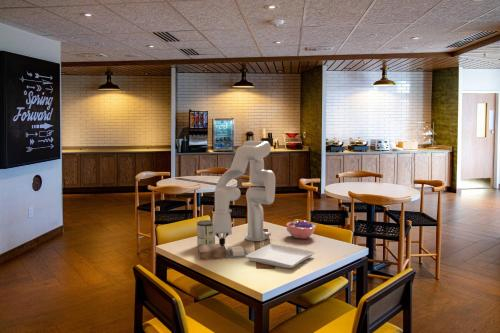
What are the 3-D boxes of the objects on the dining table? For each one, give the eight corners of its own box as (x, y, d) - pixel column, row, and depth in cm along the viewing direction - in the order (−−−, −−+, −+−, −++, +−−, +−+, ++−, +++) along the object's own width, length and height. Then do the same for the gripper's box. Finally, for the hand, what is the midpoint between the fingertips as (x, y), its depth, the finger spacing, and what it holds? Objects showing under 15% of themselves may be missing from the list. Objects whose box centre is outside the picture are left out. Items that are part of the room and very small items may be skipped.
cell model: (301, 232, 278) (301, 215, 276) (321, 239, 261) (322, 221, 259) (280, 235, 269) (280, 218, 268) (299, 243, 252) (299, 224, 251)
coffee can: (202, 243, 252) (202, 219, 251) (218, 245, 248) (218, 221, 247) (193, 247, 243) (193, 223, 242) (209, 249, 239) (209, 225, 237)
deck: (223, 250, 237) (223, 243, 237) (226, 258, 224) (226, 250, 223) (198, 251, 235) (198, 244, 234) (199, 259, 221) (199, 252, 221)
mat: (244, 249, 240) (244, 248, 240) (249, 257, 225) (249, 256, 225) (225, 250, 238) (225, 249, 238) (228, 258, 223) (228, 258, 223)
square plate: (292, 272, 203) (292, 264, 203) (244, 262, 218) (244, 255, 217) (315, 257, 226) (315, 250, 226) (270, 249, 241) (270, 242, 240)
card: (230, 246, 235) (230, 251, 235) (233, 251, 226) (233, 256, 226) (241, 246, 236) (241, 250, 236) (244, 251, 227) (244, 255, 228)
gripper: (234, 209, 233) (235, 242, 235) (207, 210, 230) (207, 244, 232) (236, 212, 225) (236, 246, 227) (208, 213, 223) (208, 248, 225)
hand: (222, 245), depth 230 cm, fingers closed
